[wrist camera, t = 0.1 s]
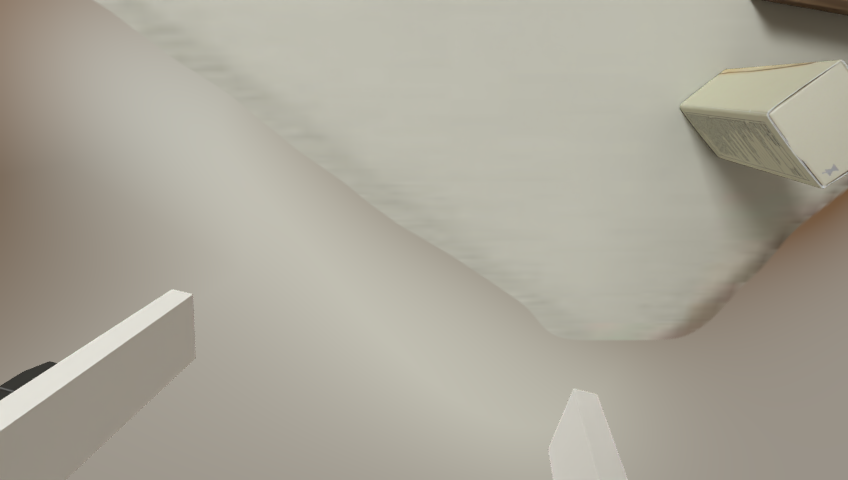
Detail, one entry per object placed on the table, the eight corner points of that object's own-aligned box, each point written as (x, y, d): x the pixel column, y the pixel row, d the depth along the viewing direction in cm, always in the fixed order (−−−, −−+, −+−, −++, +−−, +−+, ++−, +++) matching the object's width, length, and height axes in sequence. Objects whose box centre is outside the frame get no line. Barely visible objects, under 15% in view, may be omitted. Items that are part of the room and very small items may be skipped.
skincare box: (766, 123, 34) (906, 141, 23) (715, 160, 35) (824, 193, 24) (723, 66, 33) (848, 54, 22) (673, 105, 34) (766, 114, 23)
